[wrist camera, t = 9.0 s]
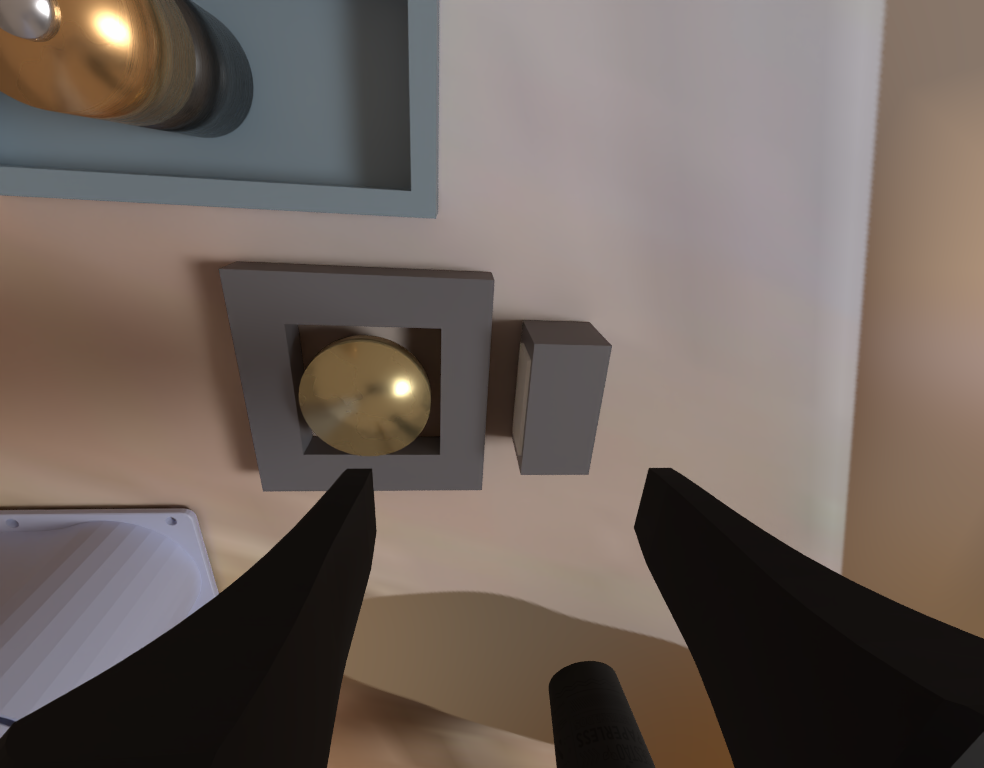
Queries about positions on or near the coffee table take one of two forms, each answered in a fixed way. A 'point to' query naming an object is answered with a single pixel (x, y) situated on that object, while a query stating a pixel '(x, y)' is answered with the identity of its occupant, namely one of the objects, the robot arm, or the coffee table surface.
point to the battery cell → (126, 63)
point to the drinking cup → (594, 720)
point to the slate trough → (268, 122)
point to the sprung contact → (365, 396)
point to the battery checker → (464, 374)
